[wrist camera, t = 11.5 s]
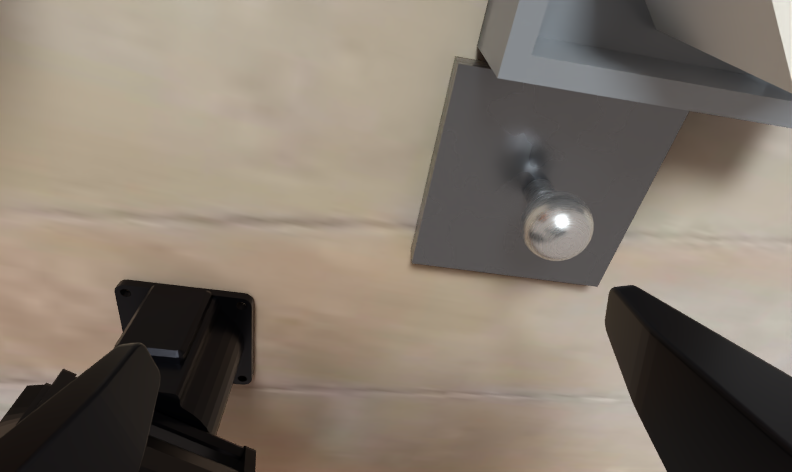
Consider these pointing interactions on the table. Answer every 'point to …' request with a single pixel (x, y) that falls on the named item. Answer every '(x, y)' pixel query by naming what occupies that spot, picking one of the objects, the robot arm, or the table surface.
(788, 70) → the cream rectangular block
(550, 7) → the bin
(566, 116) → the stud plate
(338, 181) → the table surface
